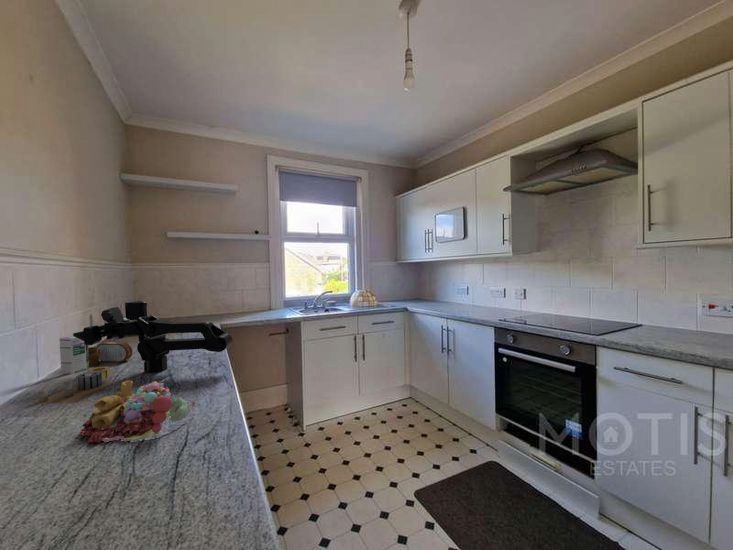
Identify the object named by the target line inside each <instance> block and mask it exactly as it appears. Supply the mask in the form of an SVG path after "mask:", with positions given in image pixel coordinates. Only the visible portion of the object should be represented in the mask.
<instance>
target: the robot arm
mask: <svg viewBox="0 0 733 550" xmlns="http://www.w3.org/2000/svg"><path fill="white" fill-rule="evenodd" d="M147 307H148V302H147V301H141V300H135V301H125V302H124V312H125V314H124V315H125V317H124V316H123V313H122V311H121V309H120V307H118V306H114V307H110V308H106V309H104V310H103V311H101V314H100V316H101V318H102V320H103V321H104V324H103V325H91V326H90V325H89V326H86V327H84V328H83V330H82V331H78V332H73V333H72V335H73V336H74V337H76V338H78V339H80V340H82V341H84V343H85V345H88V346H94V344H95V345H96V344H100V342H101V341H102V340H103V338H105V337H106V340H112V339H120V340H121V339H124V338H132V337H133V338H134V337H135V338H136V337H138V344H137V345H136V350H137V352H138V354H139V356H140V358H141V360H142V361H144V362H143V372H144V373H148V374H157V373H163V372H165V371H166V370H168V356H167V355H169V354H170V352H172V351H173V352H174V351H188V350H189V351H190V350H191V351H192V350H204V351H205V350H206V351H209V352H212V353H213V352H215V353H221V352H224V351H226V350H227V349H228V348H230V347H231V346H232V344H233V337H232V335H230V333H226V332H225V331H224V330H223V329H221V328H220V327H218V326H216V325H215V324H214V323H213V322H211V321H210V320H206V321H171V320H170V319H169V320H168V319H161V318H158V317H157V316H154V315H153V314H148V309H147ZM190 333H191V334H196V333H197V334H198V333H200V334H201V335H202V336H203V337H193V338H192V337H190V338H188V337H187V338H172V339H171V338H167V335H168V334H190Z"/></svg>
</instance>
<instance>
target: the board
mask: <svg viewBox="0 0 733 550" xmlns="http://www.w3.org/2000/svg"><path fill="white" fill-rule="evenodd" d="M63 383H64V389H63V390H61V391H59V392H57V393H53V394H52V395H50V396H48V390H47V389H44V390H40V391H38V400H37V401H35V402H33V404H34V405H36V404H60V403H61V404H63V403H64V404H65V403H66V404H67V403H79V402H80V401H82V400H84V399H87V398H88V397H90V396H92V395H95V394H96V393H99V392H100V391H103V390H104V389H107V388H109V387H111V386H113V385H114V384H116V383H118V381H102V385H101V386H100V387H97V388H94V389H90V390H77V384H74V383H73V380H66V381H64V382H63Z"/></svg>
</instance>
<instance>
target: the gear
mask: <svg viewBox="0 0 733 550" xmlns="http://www.w3.org/2000/svg"><path fill="white" fill-rule="evenodd" d="M75 378H76V379H75V381H76V384H75V385H77V390H90V389H94V388H97V387H100V386H101V385H102V382H103V379H102V372H101V371H100V372H99V371H95V372H89V373H87V372H85V373H80V374H78V375H77V376H76V377H75Z"/></svg>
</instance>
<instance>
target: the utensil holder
mask: <svg viewBox="0 0 733 550" xmlns="http://www.w3.org/2000/svg"><path fill="white" fill-rule="evenodd" d="M90 346H91V345H88V355H89V368H91V367H95V366H97V365H98V366H99V364H100V360H99V354H98V352H97V346H96V344H93V347H92V346H91V347H90Z"/></svg>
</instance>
